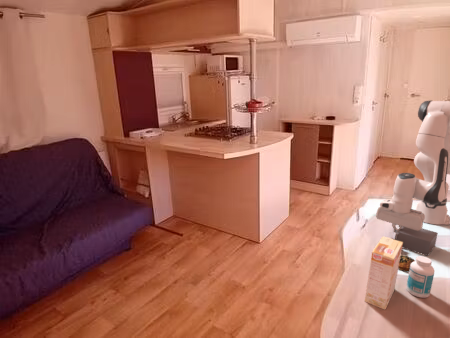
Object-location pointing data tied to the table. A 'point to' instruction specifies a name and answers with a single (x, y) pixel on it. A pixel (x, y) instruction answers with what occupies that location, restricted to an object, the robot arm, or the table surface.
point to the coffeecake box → (383, 272)
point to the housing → (418, 240)
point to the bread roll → (405, 263)
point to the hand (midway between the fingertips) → (396, 232)
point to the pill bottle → (420, 277)
